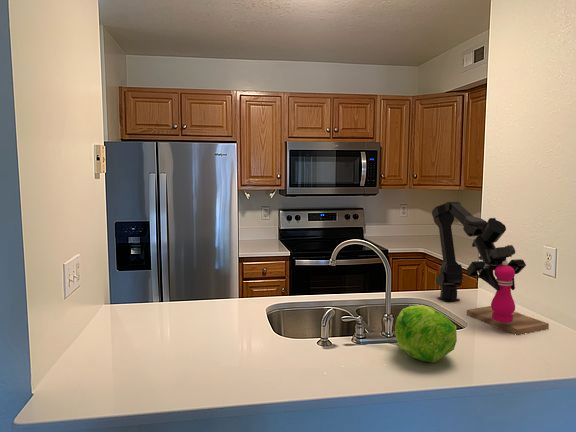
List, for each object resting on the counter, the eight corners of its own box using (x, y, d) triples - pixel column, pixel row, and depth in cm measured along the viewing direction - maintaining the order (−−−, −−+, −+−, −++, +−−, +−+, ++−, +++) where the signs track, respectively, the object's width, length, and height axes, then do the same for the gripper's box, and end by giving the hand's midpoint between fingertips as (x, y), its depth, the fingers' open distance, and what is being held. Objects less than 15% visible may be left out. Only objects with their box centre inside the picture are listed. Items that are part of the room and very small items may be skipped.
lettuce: (437, 350, 131) (442, 302, 131) (463, 374, 111) (468, 317, 111) (384, 344, 131) (388, 296, 132) (399, 367, 111) (405, 310, 111)
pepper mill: (485, 318, 141) (488, 260, 139) (497, 314, 145) (500, 257, 143) (507, 325, 135) (510, 264, 133) (518, 320, 139) (521, 260, 137)
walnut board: (466, 316, 156) (466, 309, 156) (495, 311, 161) (495, 305, 161) (517, 337, 136) (517, 329, 136) (548, 330, 141) (548, 323, 140)
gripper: (472, 238, 140) (490, 278, 130) (523, 235, 142) (545, 275, 133) (458, 256, 149) (475, 296, 139) (507, 254, 151) (527, 292, 141)
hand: (506, 289), depth 138 cm, fingers closed on pepper mill, 5 cm apart
